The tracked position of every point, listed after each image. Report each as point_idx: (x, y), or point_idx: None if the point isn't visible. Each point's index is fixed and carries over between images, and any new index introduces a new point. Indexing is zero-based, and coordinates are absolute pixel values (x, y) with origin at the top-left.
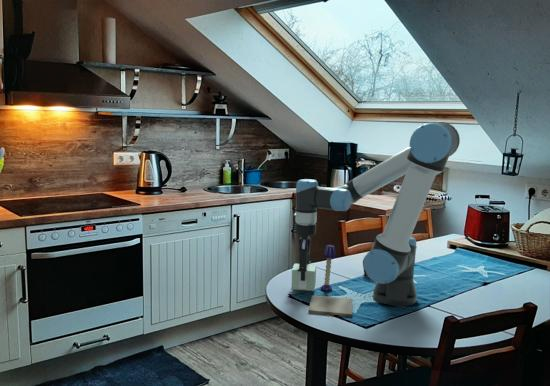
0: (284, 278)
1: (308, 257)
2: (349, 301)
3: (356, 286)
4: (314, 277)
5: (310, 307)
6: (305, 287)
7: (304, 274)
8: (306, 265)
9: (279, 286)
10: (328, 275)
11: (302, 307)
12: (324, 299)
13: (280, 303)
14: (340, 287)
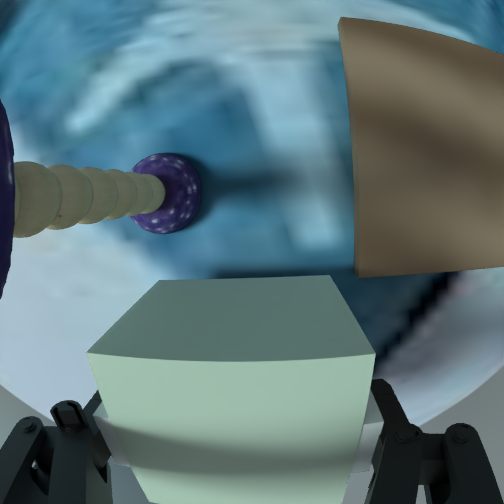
0: None
1: (85, 482)
2: (390, 35)
3: (67, 42)
4: (355, 318)
5: None
6: None
7: (404, 417)
8: (419, 476)
9: None
10: (129, 182)
11: (482, 298)
12: (412, 187)
13: (441, 397)
14: (96, 114)
